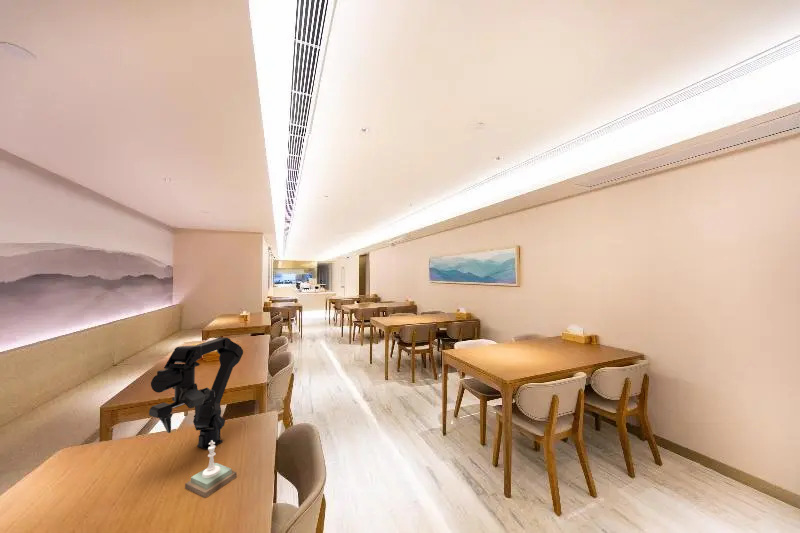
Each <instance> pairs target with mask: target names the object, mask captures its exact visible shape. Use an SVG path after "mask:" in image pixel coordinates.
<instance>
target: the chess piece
mask: <svg viewBox="0 0 800 533" xmlns="http://www.w3.org/2000/svg"><path fill="white" fill-rule="evenodd" d="M213 444H215V442H213V440H212V441H211V443H209V445H211V446H210V447H208V449H207V450H208V452H209V453H208V454H207V457H208V458H209V462H208V466H207V467H206V468H207V469H206V468H204V469H205V470H204V469H203V470H204V471H203V470H202V471H203V473H202V477H204V478H209V477H213V476H215V475H217V474H218V473H219V472H220V467H219V466H215V465H214V464H215V459H214V456H216V452H215V448H216V445H213Z"/></svg>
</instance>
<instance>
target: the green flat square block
mask: <svg viewBox="0 0 800 533" xmlns="http://www.w3.org/2000/svg"><path fill="white" fill-rule="evenodd" d="M214 465H215V466H219V467H220V472H219V473H218V474H217V475H215V476H213V477H209V478H204V477H202V473H203V471H204V470H205V469H207V468H208V467H206V468H204V469H202V470H201V471H199V472H197V473H196V474H194V475H192V476H191V477H190V480H188V481H187V482H185V483H184V486H185V487H184V489H186V490H187V491H189V492H192V493H194V494H196V495H199V496H200V497H202V498H205V499H206V498H208V497H209V496H210V495H212V494H213V493H215V492H216V491H218V490H220V489H222V488H223V487H224V486H225V485H227V484H229V483H230V482H231V481H232V480H235V479H236V478H238V477H237V476H238V475H237V471H234V470H232V468H231V467H228V466H225V465H223V464H221V463H218V462H214Z"/></svg>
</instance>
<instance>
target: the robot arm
mask: <svg viewBox="0 0 800 533" xmlns="http://www.w3.org/2000/svg"><path fill="white" fill-rule="evenodd" d="M215 351H216V352H217V354H218V355H219V358H218V361H219V364H220V365H219V368H218V371H217V374H216V375H215V378H214V381H213V384H212V386H211V387H210V388H209V387H205V388H202V389H201V388H200V389H198V384H197V383H195V382H196V381H195V380H196V379H195V376H196V374H195V372H196V367H199V366H200V365H201V363H199V362H198V361H199V360H200V359H201V358H202V357H203V356H204V355H206V354H209V353H212V352H215ZM243 354H244V349H243V348H242V346H240V345H239V344H238V343H236V342H234V341H232V340H231V339H230V338H229V337H217V338H215V339H212V340H208V341H205V342H202V343H199V344H195V345H182V346H176V347H175V348H174V350H173V352H172V353H171V354H170V356H169V358H168V360H167V361H166V364H165V365H164V367H163V369H160V370H158V371H156V375H154V376H153V378H152V379H151V381H150V386H151V387H150V388H151V389H152V390H153V392H155V393H162V392H165V391H167V390H170V389H172V390H174V396H173V397H172V399H171V401H172V402H171V403H166V402H161V403H157V404H155V405H154V404H153V405H152V406H151V407H150V408H149V410H148V415H149V416H151V417H153V418H156V419H159V420H160V421H161V423H162V424H163V426H164V428H165V430H166V433H168V434H170V433H171V430H172V417H173V416H174V414H173V413H172V412H173V410H174V409H176V408H179V407H181V406H184V405H185V406H187V408H189V409H193V408H194V415H193V421H192V422H193V424H194V428H195V431H199V435H198V444H196V446H197V447H198V448H201V449H204V450H208V447H210V446H211V445H209V443H211V441H212V440H213V442H215V444H213V445H215V446H218V445H220V444H221V443H222V442H224V440H223V439H221V430H222V429H223V427H224V426H225V423H226V419H225V418H223V417H222V416H221V414H222V407H221V401H222V399H223V396H224V393H225V390H226V388H227V385H228V382H229V379H230V377H231V374H232V371H233V368H234V367H235V366H236V365H237V364H238V363H240V362H241V359H242V356H243Z"/></svg>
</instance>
